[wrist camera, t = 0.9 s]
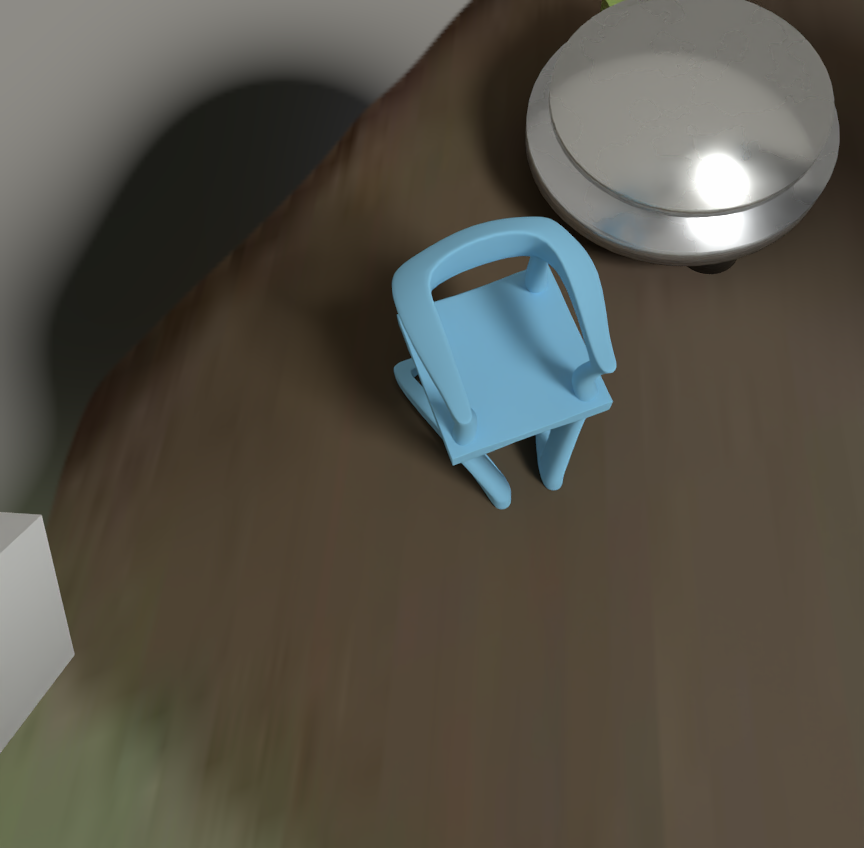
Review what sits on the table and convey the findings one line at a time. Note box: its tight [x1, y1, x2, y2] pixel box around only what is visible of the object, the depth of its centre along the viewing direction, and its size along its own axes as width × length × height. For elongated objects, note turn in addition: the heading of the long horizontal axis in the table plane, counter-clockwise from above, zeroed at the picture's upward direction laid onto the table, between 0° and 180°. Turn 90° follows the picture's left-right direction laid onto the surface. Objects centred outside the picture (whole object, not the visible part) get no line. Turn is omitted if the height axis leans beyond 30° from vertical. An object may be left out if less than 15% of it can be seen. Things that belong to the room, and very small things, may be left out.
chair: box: [392, 217, 616, 509], centre depth 30 cm, size 8×8×12 cm
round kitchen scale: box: [525, 0, 840, 274], centre depth 38 cm, size 15×15×5 cm
